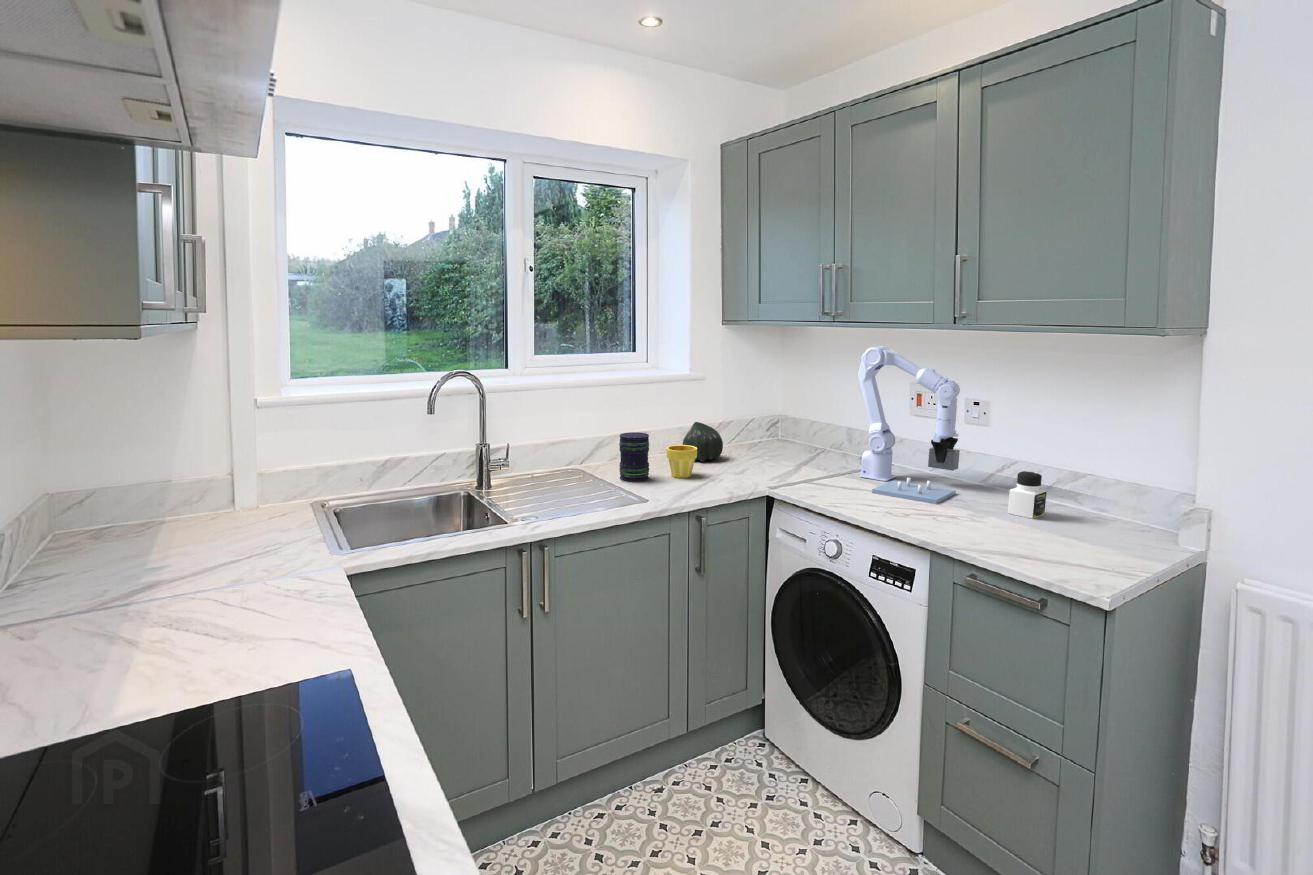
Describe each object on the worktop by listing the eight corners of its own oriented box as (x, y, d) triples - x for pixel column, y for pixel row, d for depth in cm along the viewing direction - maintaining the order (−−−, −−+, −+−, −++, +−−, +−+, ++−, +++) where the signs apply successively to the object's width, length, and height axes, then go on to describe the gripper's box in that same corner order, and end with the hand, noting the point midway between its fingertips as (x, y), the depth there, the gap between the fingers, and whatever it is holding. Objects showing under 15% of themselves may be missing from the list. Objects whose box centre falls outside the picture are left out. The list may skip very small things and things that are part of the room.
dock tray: (872, 492, 234) (872, 480, 234) (893, 483, 246) (894, 472, 246) (936, 504, 221) (937, 491, 221) (955, 493, 233) (956, 481, 233)
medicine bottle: (1033, 519, 206) (1037, 476, 204) (1007, 513, 212) (1010, 472, 209) (1044, 514, 211) (1048, 472, 209) (1019, 509, 216) (1022, 468, 214)
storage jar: (650, 475, 256) (650, 432, 253) (647, 482, 246) (647, 437, 244) (621, 475, 257) (621, 432, 254) (617, 481, 247) (617, 437, 245)
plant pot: (697, 479, 251) (697, 450, 249) (666, 479, 251) (666, 450, 250) (696, 472, 261) (696, 444, 260) (666, 472, 262) (666, 444, 260)
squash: (734, 448, 277) (718, 414, 283) (700, 453, 270) (684, 418, 276) (718, 467, 288) (703, 434, 294) (685, 473, 281) (670, 439, 287)
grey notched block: (927, 466, 243) (929, 448, 242) (933, 464, 246) (934, 446, 245) (953, 470, 238) (954, 451, 237) (958, 468, 241) (959, 449, 240)
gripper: (950, 423, 231) (947, 466, 234) (966, 418, 242) (963, 459, 244) (927, 420, 236) (924, 463, 238) (944, 415, 247) (941, 456, 249)
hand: (943, 461), depth 242 cm, fingers closed on grey notched block, 4 cm apart
